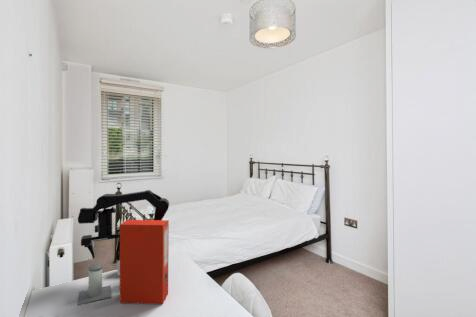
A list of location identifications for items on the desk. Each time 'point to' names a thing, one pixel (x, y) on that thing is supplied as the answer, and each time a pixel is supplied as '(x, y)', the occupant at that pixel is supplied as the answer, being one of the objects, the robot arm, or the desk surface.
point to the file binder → (144, 261)
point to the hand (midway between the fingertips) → (105, 256)
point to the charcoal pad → (86, 299)
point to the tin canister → (95, 280)
